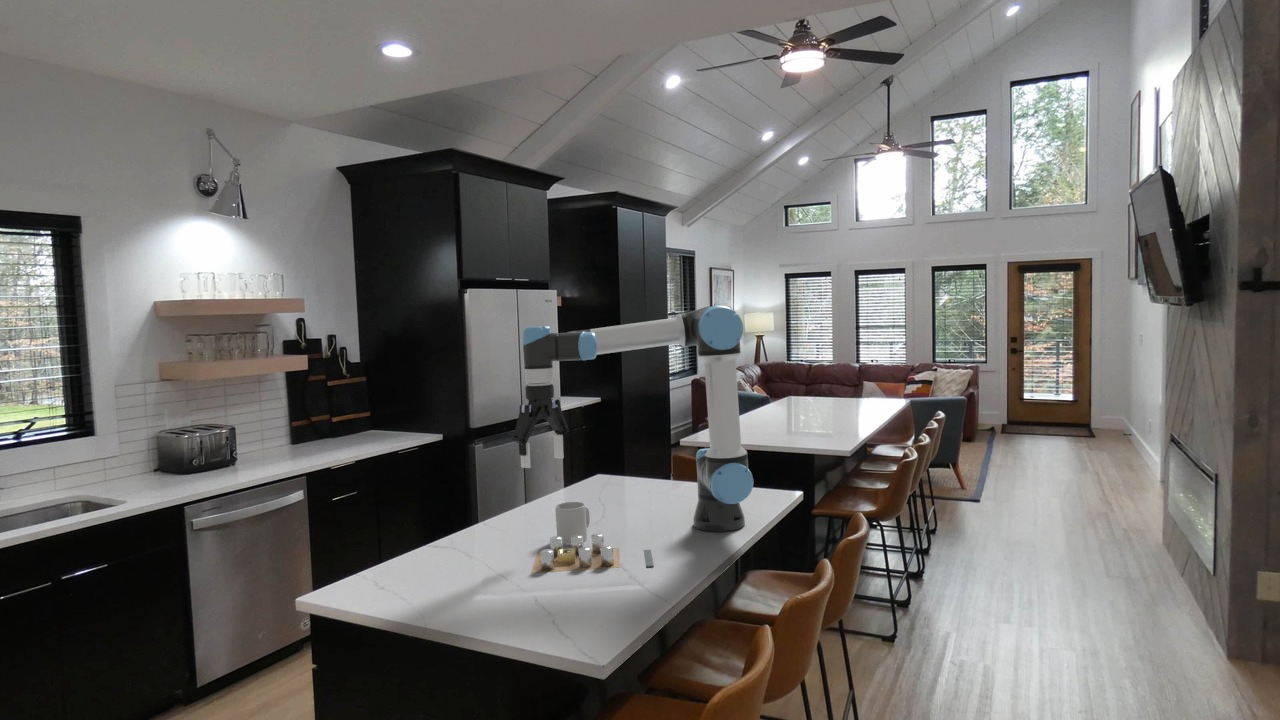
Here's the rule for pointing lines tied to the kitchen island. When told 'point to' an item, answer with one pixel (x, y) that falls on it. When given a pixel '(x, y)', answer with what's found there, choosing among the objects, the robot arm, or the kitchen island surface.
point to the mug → (572, 521)
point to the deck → (575, 566)
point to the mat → (648, 558)
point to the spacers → (579, 551)
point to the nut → (566, 556)
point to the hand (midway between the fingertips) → (542, 462)
